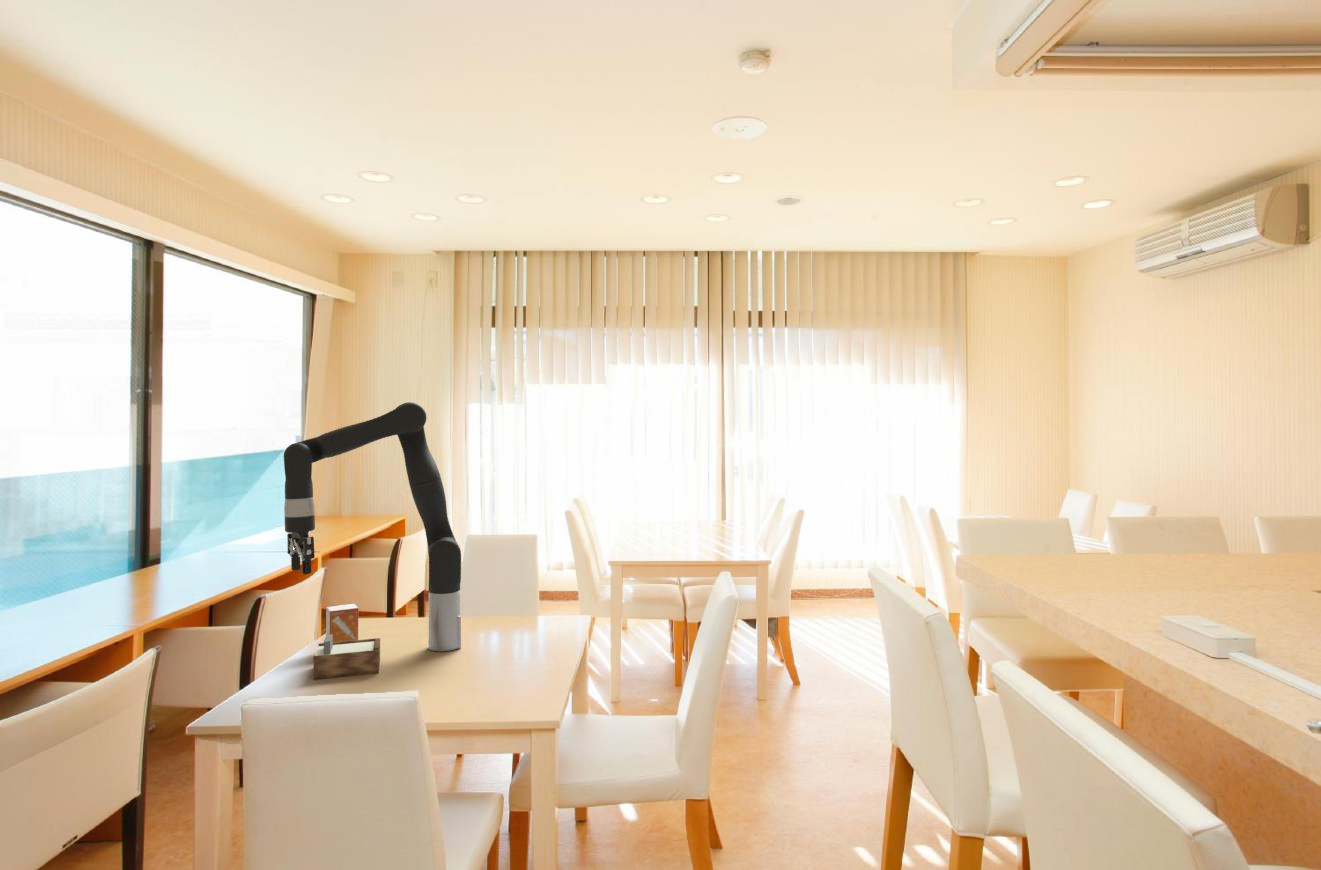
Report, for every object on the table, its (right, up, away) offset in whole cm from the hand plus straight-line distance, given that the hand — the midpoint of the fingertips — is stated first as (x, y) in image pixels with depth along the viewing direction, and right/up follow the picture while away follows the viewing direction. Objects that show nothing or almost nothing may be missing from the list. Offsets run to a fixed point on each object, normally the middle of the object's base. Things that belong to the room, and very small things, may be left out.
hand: (301, 571), depth 200 cm
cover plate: (+14, -21, -4) cm, 26 cm away
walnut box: (+15, -26, -3) cm, 30 cm away
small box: (+5, -26, +14) cm, 30 cm away
